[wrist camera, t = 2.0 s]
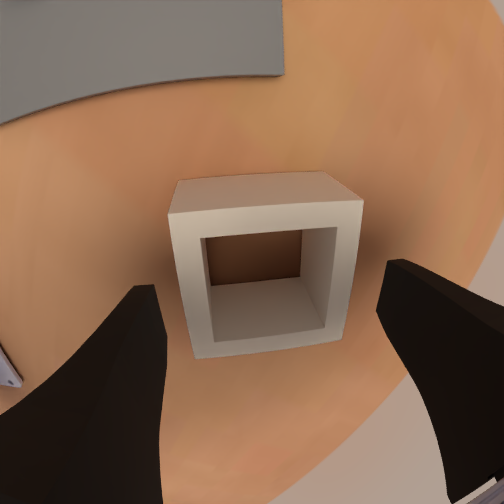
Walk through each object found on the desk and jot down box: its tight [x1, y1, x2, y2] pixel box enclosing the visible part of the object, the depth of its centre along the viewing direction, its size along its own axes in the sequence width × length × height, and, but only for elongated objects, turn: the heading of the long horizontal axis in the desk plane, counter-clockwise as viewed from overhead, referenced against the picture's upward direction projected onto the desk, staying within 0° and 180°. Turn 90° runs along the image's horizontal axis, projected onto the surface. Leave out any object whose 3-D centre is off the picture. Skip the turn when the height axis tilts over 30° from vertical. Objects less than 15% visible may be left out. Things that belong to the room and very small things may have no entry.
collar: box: [168, 171, 364, 359], centre depth 11 cm, size 6×6×4 cm
